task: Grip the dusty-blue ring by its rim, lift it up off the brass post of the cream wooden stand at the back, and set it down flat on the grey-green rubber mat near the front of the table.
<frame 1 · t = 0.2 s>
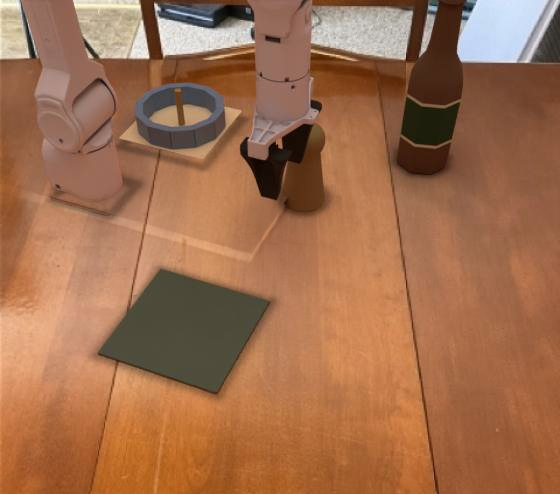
hand: (281, 178, 81), 10 cm above the table, tool pointing down, fingers open, 7 cm apart
beer bottle: (420, 161, 101), on the table
mat: (186, 327, 80), on the table
brown pawn: (303, 199, 95), on the table
stand: (182, 132, 105), on the table
ring: (181, 123, 104), point 1 cm above the table, touching stand
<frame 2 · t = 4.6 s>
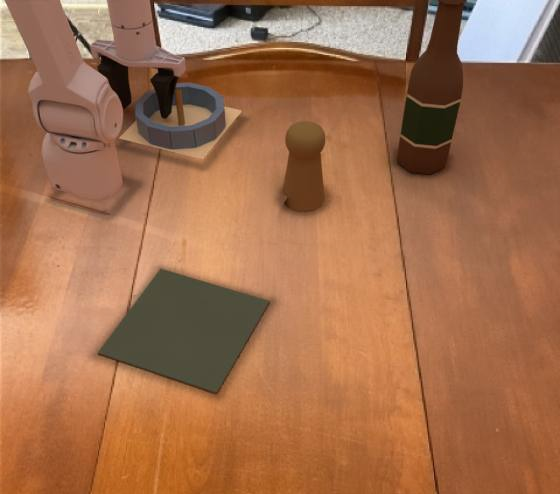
hand: (146, 110, 105), 2 cm above the table, tool pointing down, fingers open, 6 cm apart
nothing on the table moved.
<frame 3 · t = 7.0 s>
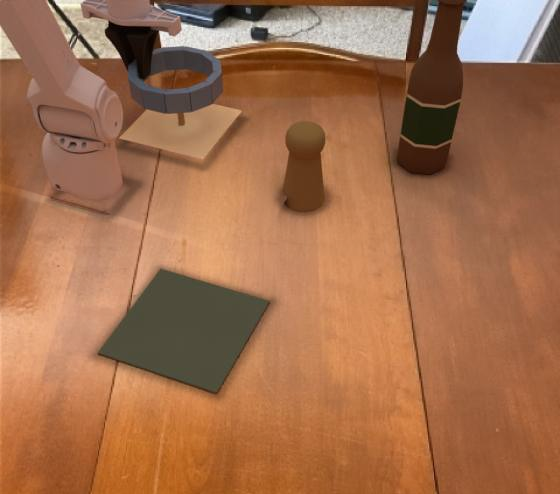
hand: (140, 74, 100), 8 cm above the table, tool pointing down, fingers closed on ring
ring: (177, 88, 99), point 7 cm above the table, touching gripper
everything else where it was.
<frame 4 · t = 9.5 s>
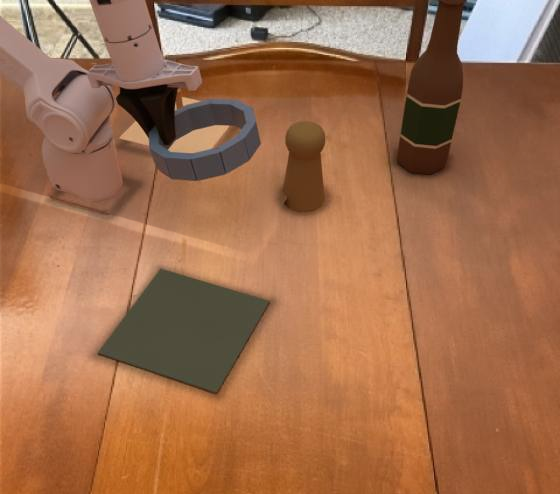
hand: (164, 140, 86), 10 cm above the table, tool pointing down, fingers closed on ring
ring: (207, 149, 84), point 10 cm above the table, tilted 11°, touching gripper
everything else where it was.
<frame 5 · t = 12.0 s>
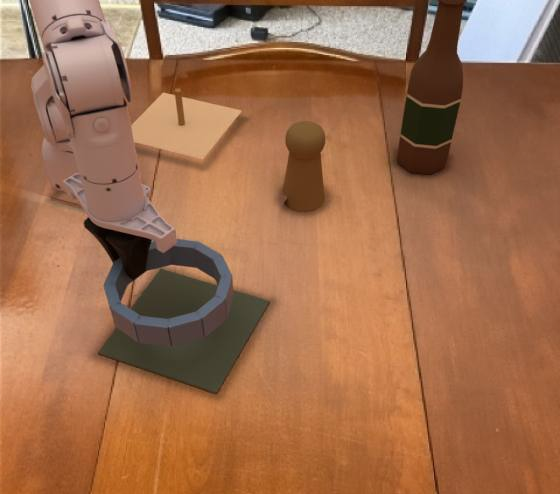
hand: (132, 270, 76), 7 cm above the table, tool pointing down, fingers closed on ring
ring: (171, 300, 74), point 6 cm above the table, touching gripper
everything else where it was.
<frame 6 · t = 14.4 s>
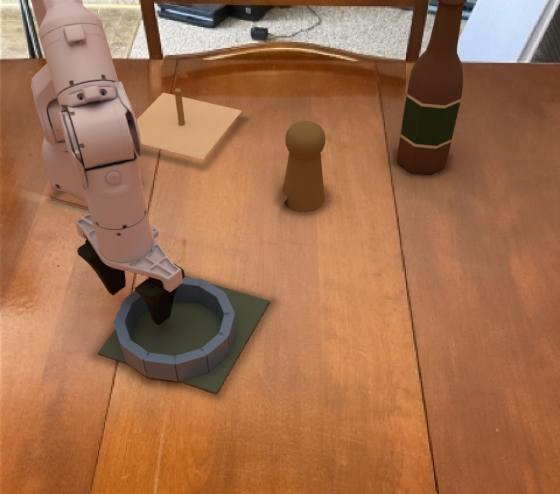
hand: (139, 304, 80), 2 cm above the table, tool pointing down, fingers open, 7 cm apart
ring: (177, 335, 79), resting on mat
everything else where it was.
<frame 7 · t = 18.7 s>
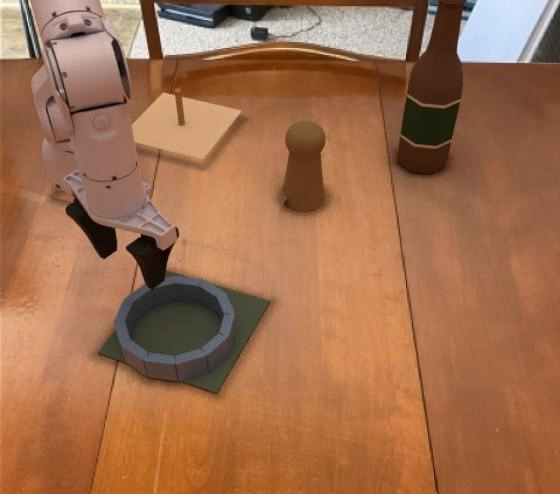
hand: (132, 268, 76), 7 cm above the table, tool pointing down, fingers open, 7 cm apart
nothing on the table moved.
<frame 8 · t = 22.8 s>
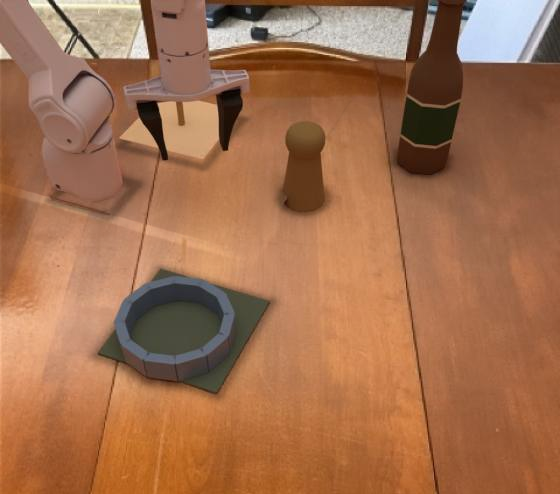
hand: (194, 151, 86), 9 cm above the table, tool pointing down, fingers open, 7 cm apart
nothing on the table moved.
at the end: ring inside the target area on the mat (1.7 cm from its centre), point 0.3 cm above the mat's base; ring tilted 0°; ring touching mat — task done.
